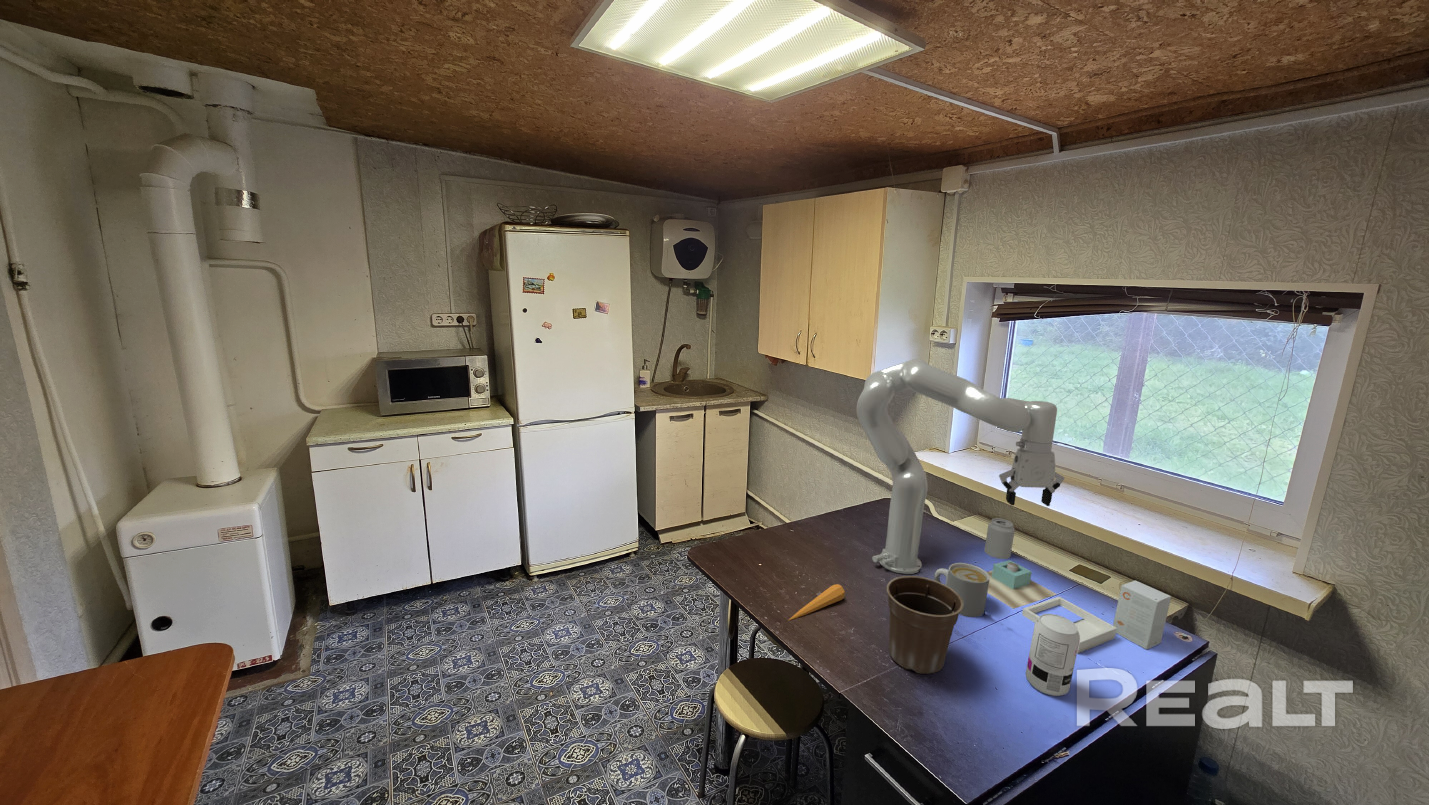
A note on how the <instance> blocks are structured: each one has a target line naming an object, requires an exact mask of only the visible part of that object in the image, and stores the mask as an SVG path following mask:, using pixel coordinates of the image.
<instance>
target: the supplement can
mask: <svg viewBox="0 0 1429 805" xmlns="http://www.w3.org/2000/svg"><path fill="white" fill-rule="evenodd" d="M1073 622H1074V621H1072V620H1070V619H1068V618H1066V617H1065V616H1061V615H1058V614H1054V613H1043V614H1041V615H1040V618H1039V619H1037V621H1036V622H1035V623H1034V627H1033V631H1032V636H1031V642H1030V649H1029V654H1028V658H1027V664H1026V669H1025V677H1026V679H1027V681H1028V682H1029V683H1030V684H1031V686H1032V687H1033V688H1034V689H1036V690H1037V691H1039V692H1041V693H1043V694H1045V695H1049V696H1053V697H1061V696H1064V695H1066V694H1068V693H1069V691H1070V687H1071V684H1072V683H1071V682H1072V678H1073V675H1074V671H1075V670H1074V669H1075V664H1076V659H1077V655H1078V654H1077V651H1078V646H1079V641H1080V635H1079V632H1078V628H1077V626H1076V625H1075V624H1074V623H1073Z"/></svg>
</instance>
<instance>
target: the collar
mask: <svg viewBox="0 0 1429 805" xmlns="http://www.w3.org/2000/svg"><path fill="white" fill-rule="evenodd" d="M1009 562H1012V563H1015V564H1017V565H1018V566H1019V567H1018V572H1015V573H1014V572H1012V571H1010V570H1008V569H1007V564H1008V563H1009ZM992 570H993V571H992ZM992 570H991V571H992V577H993V578H994V579H996V580H998V581H1000V582H1001V583H1003V584H1005V585H1006V586H1008V587H1010V588H1012V589H1016V588H1019V587H1022V586H1025V585H1029V584H1030V580H1032V574H1033V573H1032V572H1033V571H1032V570H1030V569H1028V568H1026V567H1024V566H1022V565H1020V564H1018V563H1017V562H1014V561H1013V560H1010V559H1009V560H1005V561H1001V562H997V563H994V564H993V565H992Z"/></svg>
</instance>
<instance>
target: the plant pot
mask: <svg viewBox="0 0 1429 805" xmlns="http://www.w3.org/2000/svg"><path fill="white" fill-rule="evenodd" d="M940 582H941V581H940ZM940 582H937V581H935V580H934V579H931V578H927V577H923V576H915V575H903V576H897V577H895V578H892V579H891V580H889V582H888V583H887V584H886V593H887V595H888V597H887V598H888V599H887V602H888V608H889V620H888V621H889V623H888V624H889V626H888V627H889V628H888V630H889V631H888V654H889V655H890V657H891V659H893V661H894V662H895V663H897V665H898V666H901V667H902V668H903V669H906V670H912V671H915V673H917V674H924V675H928V674H936V673H937V672H939V671H941V670H942V668H944V665H945V661H946V657H947V653H948V650H949V646H950V642H951V638H952V635H953V631H954V628H955V625H956V624H957V622H958V618H959V615H960V614H959V613H960V612H961V611H962V609H963V600H962V598H961V597H960V596H959V594H958V593H957V592H955V591H954V590H953V589H951V588H950V587H948V586H946V585H944V584H945V583H942V582H941V583H940Z"/></svg>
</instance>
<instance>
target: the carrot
mask: <svg viewBox="0 0 1429 805" xmlns="http://www.w3.org/2000/svg"><path fill="white" fill-rule="evenodd" d="M845 594H846V591H845V589H844V588H843V586H842V585H840V584H839V583H837V584H832V585H831V586H830V587H828V588H826V589H825V590H824V591H823V592H821V593H820V594H819V595H818V596H816V597H815V598H814V599H813V600H811V601H810V602H809V603H807V604H805V605H804V606H803V607H802V608H800V609H799V610H798V611H797V612H796V613H795V614H793V615H792V617H790V618H789V619H787V622H789V621H791V620H794V619H797V618H800V617H803V616H805V615H808V614H811V613H812V612H815V611H817V610H820V609H823V608H825V607H827V606H829V605H832V604H834V603H837V602H840V601H842V600H843V599H844V598H845V596H846V595H845Z"/></svg>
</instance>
